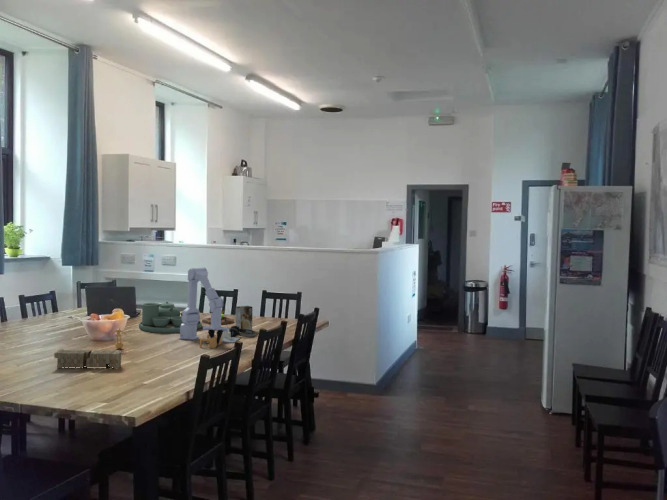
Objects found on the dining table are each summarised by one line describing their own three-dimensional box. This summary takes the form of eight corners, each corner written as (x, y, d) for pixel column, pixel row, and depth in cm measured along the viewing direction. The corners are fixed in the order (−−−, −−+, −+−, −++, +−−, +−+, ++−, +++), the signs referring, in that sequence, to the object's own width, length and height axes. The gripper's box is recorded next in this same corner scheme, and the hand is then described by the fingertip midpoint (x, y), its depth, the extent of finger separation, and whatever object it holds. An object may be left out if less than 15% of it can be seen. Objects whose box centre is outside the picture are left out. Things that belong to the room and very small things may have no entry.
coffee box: (247, 329, 384) (247, 305, 383) (252, 330, 379) (253, 306, 378) (235, 330, 378) (235, 306, 377) (240, 332, 373) (240, 307, 372)
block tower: (122, 367, 282) (59, 365, 279) (123, 350, 281) (60, 347, 278) (117, 371, 274) (53, 369, 271) (118, 353, 274) (54, 351, 271)
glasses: (199, 347, 325) (199, 338, 325) (207, 342, 338) (207, 334, 338) (213, 348, 324) (214, 339, 324) (221, 343, 337) (221, 334, 337)
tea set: (169, 336, 356) (169, 309, 355) (126, 328, 377) (126, 303, 376) (214, 327, 390) (215, 302, 389) (172, 320, 411) (172, 297, 410)
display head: (204, 341, 341) (204, 332, 341) (211, 337, 355) (212, 328, 355) (233, 343, 339) (233, 334, 339) (240, 338, 353) (240, 329, 353)
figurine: (127, 348, 319) (128, 326, 318) (125, 350, 313) (125, 328, 312) (112, 348, 317) (112, 326, 317) (109, 350, 311) (109, 328, 311)
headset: (226, 317, 368) (257, 321, 369) (224, 332, 368) (255, 336, 369) (223, 321, 355) (255, 325, 356) (221, 336, 355) (253, 340, 356)
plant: (218, 319, 422) (218, 304, 421) (237, 322, 410) (238, 307, 410) (197, 322, 405) (197, 307, 405) (216, 326, 394) (217, 310, 393)
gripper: (201, 320, 327) (200, 343, 328) (226, 321, 325) (225, 345, 326) (205, 318, 334) (205, 341, 335) (229, 319, 332) (229, 342, 333)
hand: (215, 343), depth 331 cm, fingers closed on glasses, 2 cm apart
